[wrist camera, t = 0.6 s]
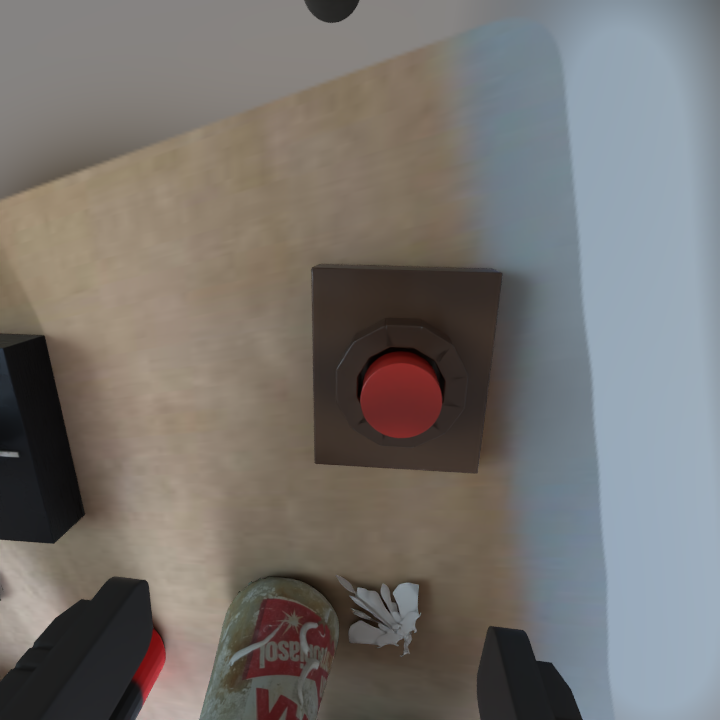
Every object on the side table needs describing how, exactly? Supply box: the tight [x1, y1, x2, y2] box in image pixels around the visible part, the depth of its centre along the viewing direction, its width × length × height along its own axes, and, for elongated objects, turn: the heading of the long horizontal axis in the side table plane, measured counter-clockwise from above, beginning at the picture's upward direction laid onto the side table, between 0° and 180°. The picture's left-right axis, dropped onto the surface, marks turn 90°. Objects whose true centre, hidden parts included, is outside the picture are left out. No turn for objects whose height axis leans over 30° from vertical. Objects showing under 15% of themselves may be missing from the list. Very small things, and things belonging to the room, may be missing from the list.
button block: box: [311, 264, 503, 473], centre depth 23 cm, size 12×10×4 cm
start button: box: [360, 351, 442, 438], centre depth 21 cm, size 4×4×2 cm
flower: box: [336, 575, 421, 657], centre depth 30 cm, size 8×8×3 cm
